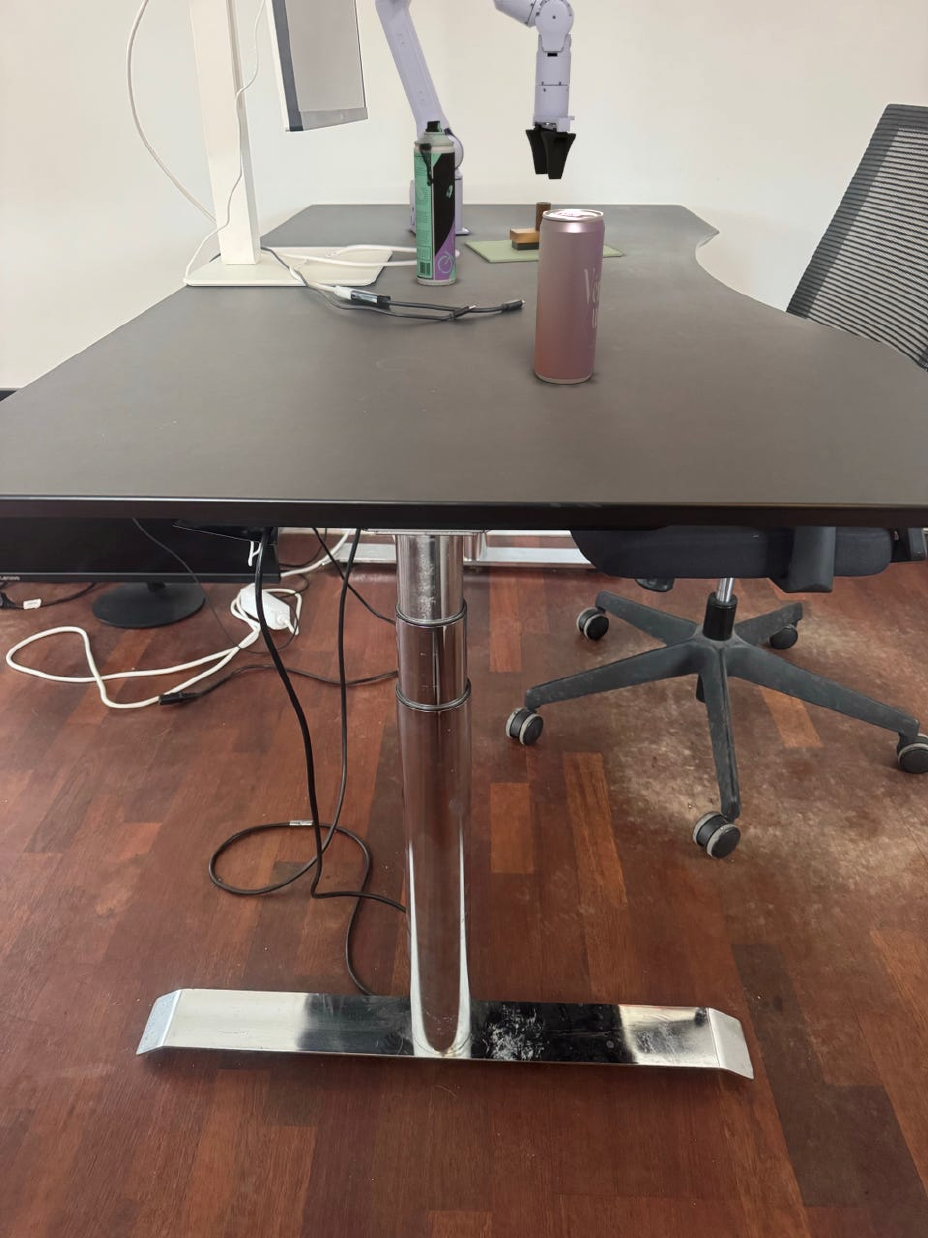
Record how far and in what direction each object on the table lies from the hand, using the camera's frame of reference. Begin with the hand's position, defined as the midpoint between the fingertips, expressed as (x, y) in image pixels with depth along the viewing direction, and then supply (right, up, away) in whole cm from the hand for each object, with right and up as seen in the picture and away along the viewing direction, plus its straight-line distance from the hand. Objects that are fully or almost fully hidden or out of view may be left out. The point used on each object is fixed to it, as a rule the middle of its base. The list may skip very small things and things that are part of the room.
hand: (548, 176), depth 151 cm
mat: (-2, -16, -7) cm, 17 cm away
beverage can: (-5, -53, -64) cm, 83 cm away
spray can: (-19, -29, -27) cm, 44 cm away
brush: (-2, -15, -7) cm, 17 cm away
